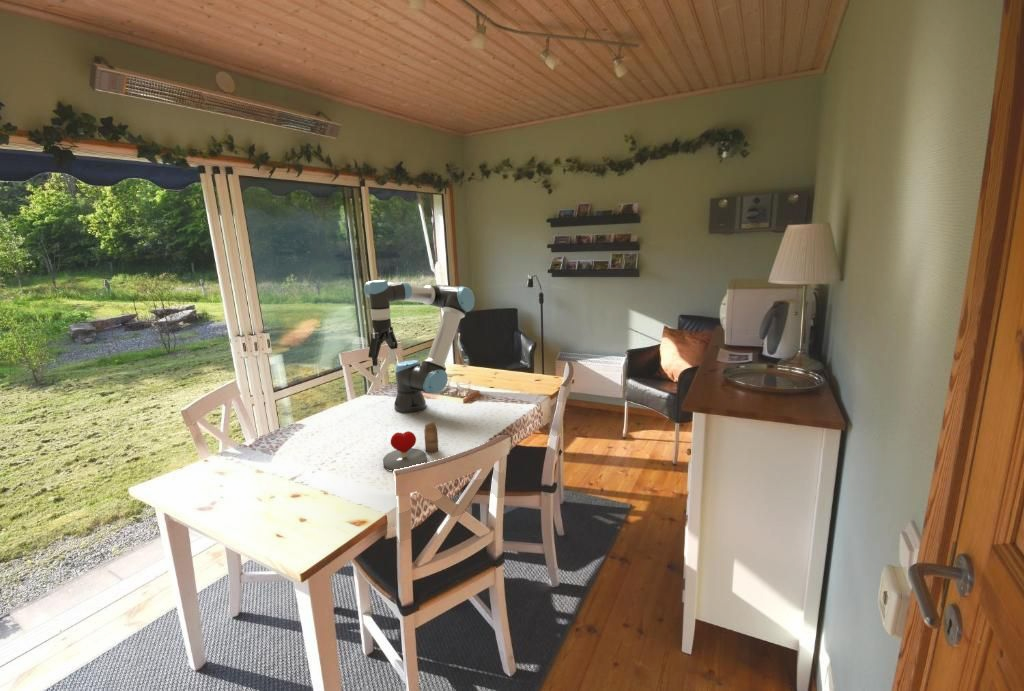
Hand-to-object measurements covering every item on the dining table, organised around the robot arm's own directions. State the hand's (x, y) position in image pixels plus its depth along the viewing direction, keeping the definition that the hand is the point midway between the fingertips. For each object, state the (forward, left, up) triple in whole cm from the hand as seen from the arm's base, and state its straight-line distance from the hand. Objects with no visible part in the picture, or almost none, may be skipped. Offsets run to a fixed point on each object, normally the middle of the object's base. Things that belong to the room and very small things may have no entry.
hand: (385, 368), depth 200 cm
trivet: (+24, +20, -29) cm, 42 cm away
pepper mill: (+13, +26, -29) cm, 40 cm away
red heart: (+24, +20, -27) cm, 41 cm away
